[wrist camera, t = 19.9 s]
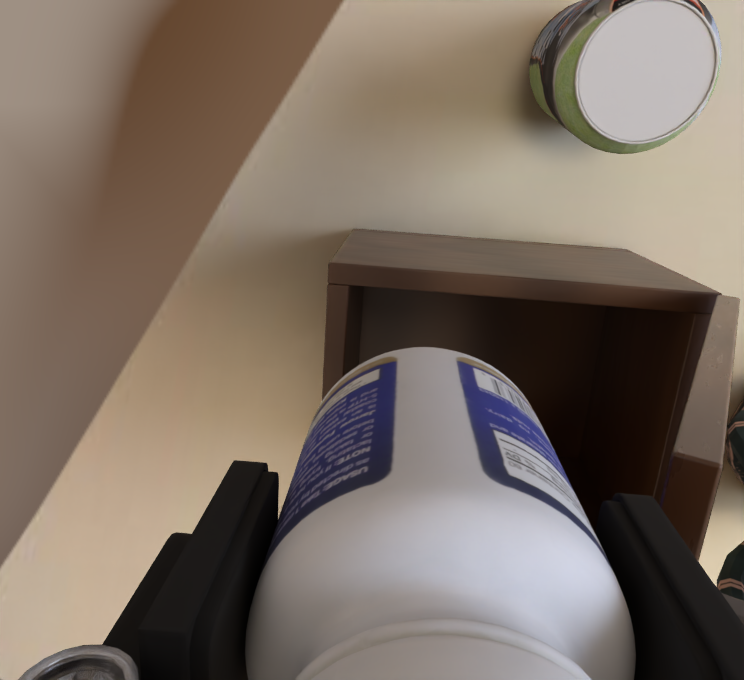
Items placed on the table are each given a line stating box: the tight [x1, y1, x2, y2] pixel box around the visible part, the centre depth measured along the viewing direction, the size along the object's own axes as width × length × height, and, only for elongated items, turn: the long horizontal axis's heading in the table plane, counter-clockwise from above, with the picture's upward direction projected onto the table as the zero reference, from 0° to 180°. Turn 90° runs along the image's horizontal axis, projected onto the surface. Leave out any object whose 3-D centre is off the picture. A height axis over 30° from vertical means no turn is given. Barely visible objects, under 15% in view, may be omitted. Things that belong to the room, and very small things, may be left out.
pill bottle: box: [245, 347, 636, 680], centre depth 10 cm, size 5×5×9 cm
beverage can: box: [529, 0, 721, 154], centre depth 28 cm, size 6×7×12 cm
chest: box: [322, 229, 722, 532], centre depth 33 cm, size 16×14×11 cm
